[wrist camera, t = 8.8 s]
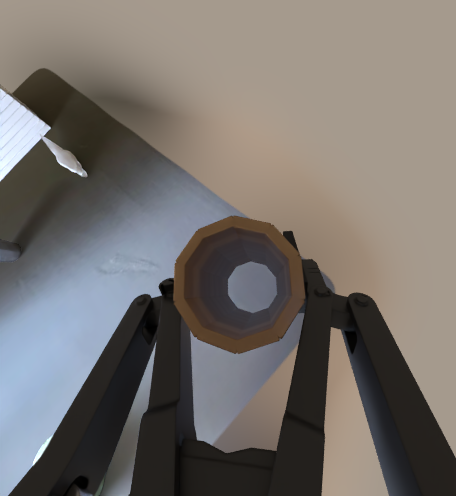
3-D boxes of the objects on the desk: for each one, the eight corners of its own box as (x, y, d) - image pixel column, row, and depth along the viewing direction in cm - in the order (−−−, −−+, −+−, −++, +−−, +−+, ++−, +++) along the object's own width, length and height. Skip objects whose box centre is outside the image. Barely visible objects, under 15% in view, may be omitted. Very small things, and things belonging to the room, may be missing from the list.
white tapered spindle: (94, 172, 33) (84, 165, 32) (83, 183, 33) (73, 177, 31) (49, 132, 37) (38, 124, 36) (40, 143, 37) (28, 135, 36)
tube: (295, 277, 21) (332, 257, 9) (260, 332, 20) (252, 386, 8) (244, 245, 22) (220, 195, 11) (210, 295, 22) (148, 298, 10)
